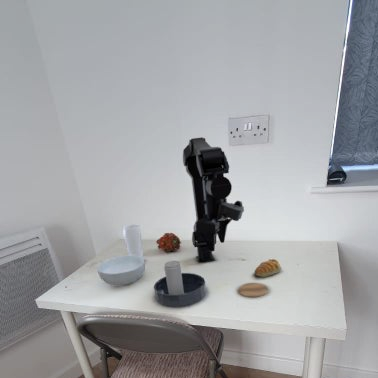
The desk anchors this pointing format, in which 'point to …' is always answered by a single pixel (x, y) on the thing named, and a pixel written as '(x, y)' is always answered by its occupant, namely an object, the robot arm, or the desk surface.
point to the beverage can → (174, 278)
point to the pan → (192, 291)
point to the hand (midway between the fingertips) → (217, 246)
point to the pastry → (268, 268)
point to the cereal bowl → (121, 269)
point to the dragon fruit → (169, 242)
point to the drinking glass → (133, 239)
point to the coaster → (253, 290)
